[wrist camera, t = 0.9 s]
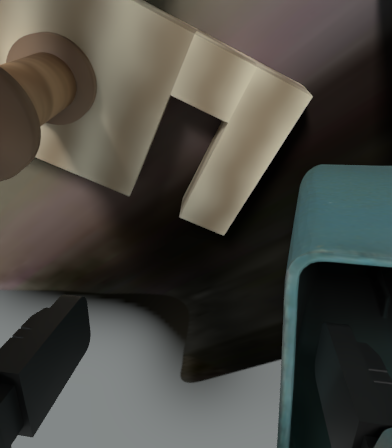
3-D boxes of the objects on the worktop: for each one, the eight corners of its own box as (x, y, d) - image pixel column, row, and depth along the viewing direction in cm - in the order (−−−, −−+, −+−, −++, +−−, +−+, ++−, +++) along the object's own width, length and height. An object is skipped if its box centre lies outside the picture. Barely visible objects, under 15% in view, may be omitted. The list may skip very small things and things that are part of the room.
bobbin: (8, 99, 30) (-98, 152, 20) (19, 14, 26) (-104, 27, 16) (85, 133, 31) (22, 199, 21) (106, 57, 27) (41, 93, 18)
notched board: (-22, 110, 35) (-47, 123, 31) (-6, -80, 26) (-39, -90, 23) (223, 215, 40) (223, 235, 37) (303, 85, 31) (312, 96, 28)
